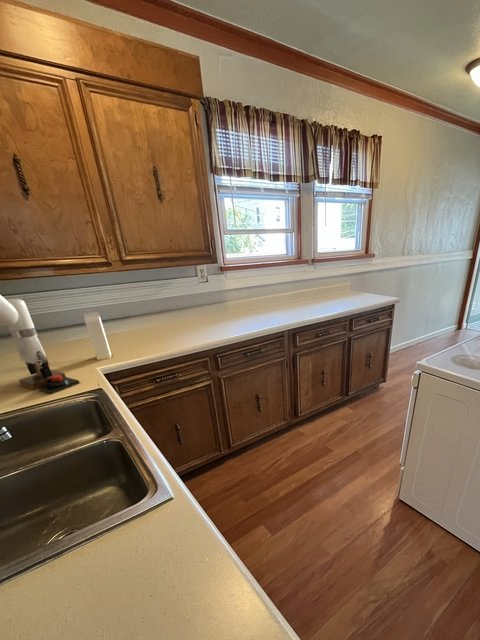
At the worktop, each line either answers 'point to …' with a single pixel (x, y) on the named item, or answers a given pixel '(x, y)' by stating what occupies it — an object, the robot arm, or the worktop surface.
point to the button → (56, 378)
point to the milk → (97, 335)
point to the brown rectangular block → (37, 371)
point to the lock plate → (37, 380)
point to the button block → (58, 385)
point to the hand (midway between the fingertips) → (41, 375)
